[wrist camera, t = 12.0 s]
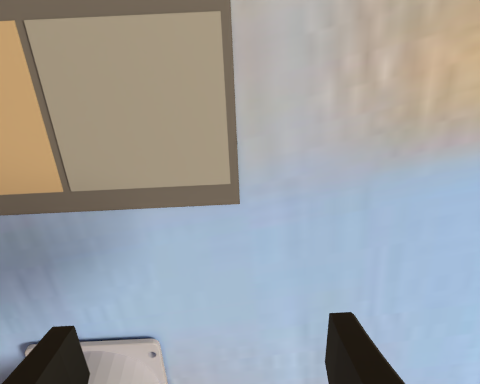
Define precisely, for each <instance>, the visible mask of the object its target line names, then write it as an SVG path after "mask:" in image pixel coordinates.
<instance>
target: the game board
mask: <svg viewBox="0 0 480 384" xmlns="http://www.w3.org/2000/svg"><path fill="white" fill-rule="evenodd" d="M227 204H240V199H239V177H238V156H237V135H236V113H235V92H234V70H233V49H232V27H231V6H230V0H0V215H19V214H40V213H60V212H81V211H102V210H123V209H144V208H164V207H185V206H206V205H227Z"/></svg>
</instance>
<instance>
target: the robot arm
mask: <svg viewBox="0 0 480 384" xmlns="http://www.w3.org/2000/svg"><path fill="white" fill-rule="evenodd" d="M25 356H26V357H25V359H24V360H23V361H22V362H21V363H20V364H19V365H18V366H17V368H16V369H15V370H14V371H13V372H12V373H11V374H10V375H9V377H8V378H7V379H6V380H5V381H4V382H3V383H2V384H168V382H167V377H166V372H165V367H164V362H163V357H162V352H161V347H160V343H159V341H157V340H156V339H131V340H111V341H91V342H79V339H78V336H77V333H76V330H75V327H74V326H60V327H52V328H51V329H50V330H49V331H48V332H47V334H46V335H45V336H44V337H43V338H42V339H41V340H40V341H39V343H38V344H33V345H29V346H28V347H27V349H26V351H25ZM325 365H326V370H327V376H328V382H329V384H405V383H404V382H403V380H402V379H401V378H400V377H399V375H398V374H397V373H396V372H395V370H394V369H393V368H392V367H391V365H390V364H389V363H388V362H387V360H386V359H385V358H384V356H383V355H382V354H381V352H380V351H379V350H378V348H377V347H376V346H375V344H374V343H373V341H372V340H371V339H370V337H369V336H368V334H367V333H366V332H365V330H364V329H363V327H362V326H361V324H360V323H359V321H358V320H357V318H356V317H355V315H354V314H353V313H351V312H345V313H329V324H328V335H327V346H326V357H325Z"/></svg>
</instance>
